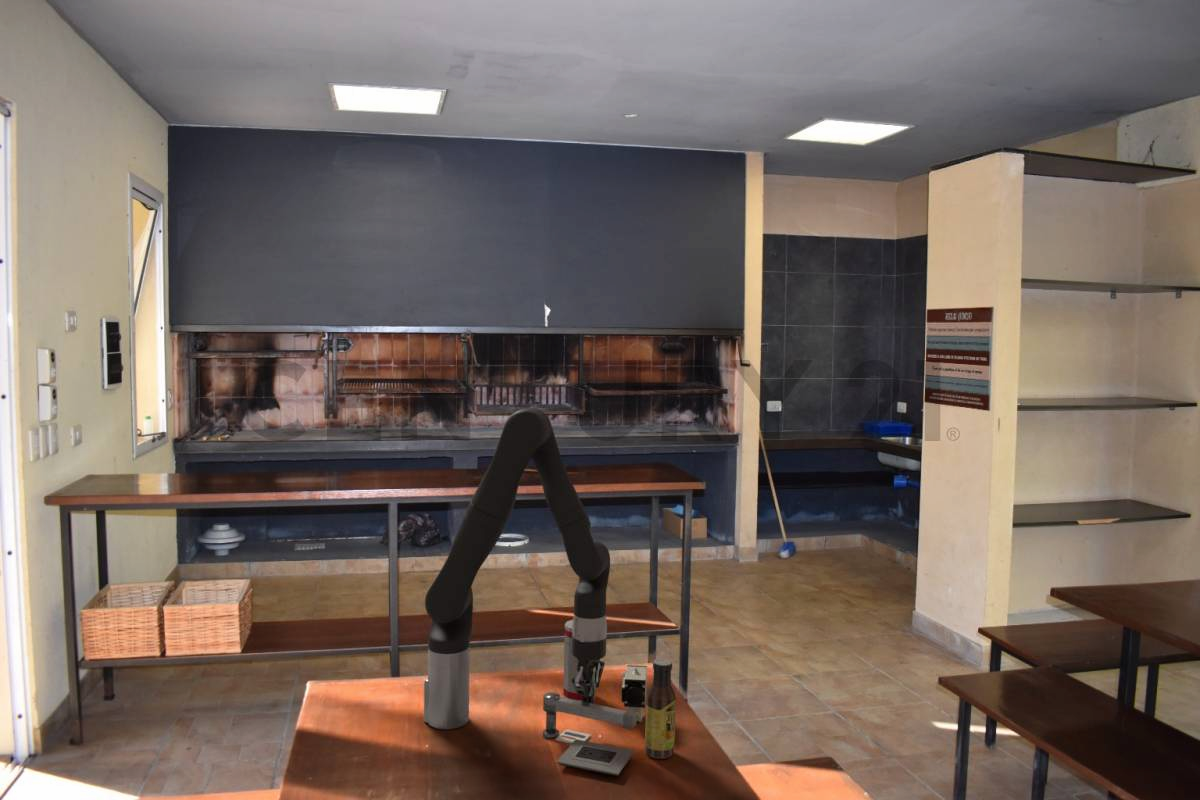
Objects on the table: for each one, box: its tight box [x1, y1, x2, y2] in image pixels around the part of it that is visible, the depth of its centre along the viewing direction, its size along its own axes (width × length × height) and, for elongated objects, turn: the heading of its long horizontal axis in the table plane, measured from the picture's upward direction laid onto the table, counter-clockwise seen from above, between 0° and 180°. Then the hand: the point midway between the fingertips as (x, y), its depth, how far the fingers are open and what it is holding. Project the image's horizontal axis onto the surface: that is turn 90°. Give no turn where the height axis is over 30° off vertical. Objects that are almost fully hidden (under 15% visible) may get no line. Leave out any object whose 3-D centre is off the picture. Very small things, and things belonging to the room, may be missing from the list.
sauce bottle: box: [644, 658, 677, 760], centre depth 189 cm, size 6×6×20 cm
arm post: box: [542, 712, 560, 740], centre depth 197 cm, size 4×4×6 cm
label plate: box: [555, 728, 592, 745], centre depth 196 cm, size 6×5×1 cm
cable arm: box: [542, 692, 637, 730], centre depth 193 cm, size 21×4×3 cm, turn 66°
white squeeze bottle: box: [562, 619, 596, 701], centre depth 216 cm, size 8×8×25 cm
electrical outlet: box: [556, 739, 635, 777], centre depth 185 cm, size 13×10×2 cm
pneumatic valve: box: [621, 664, 648, 723], centre depth 206 cm, size 6×12×12 cm, turn 175°
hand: (587, 710), depth 197 cm, fingers closed
